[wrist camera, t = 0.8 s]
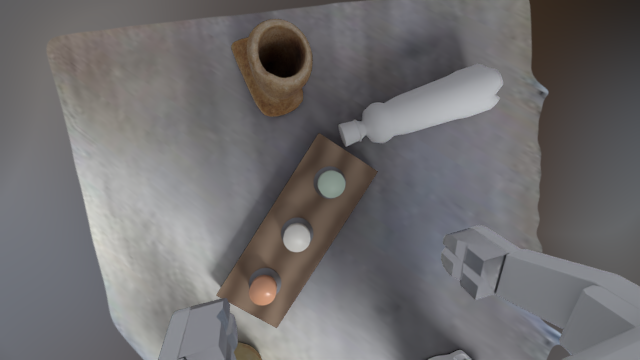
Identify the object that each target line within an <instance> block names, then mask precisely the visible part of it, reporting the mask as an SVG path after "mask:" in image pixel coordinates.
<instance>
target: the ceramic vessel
mask: <svg viewBox="0 0 640 360" xmlns="http://www.w3.org/2000/svg"><path fill="white" fill-rule="evenodd" d="M234 354H235V357H236V359H237V360H262V358H261V356H260V355H259V353H258V352H257V351H256V350H255V349H254V348H253V347H251V346H249V345H247V344H244V343H240V342H238V346H237V347H236V349H235V351H234Z"/></svg>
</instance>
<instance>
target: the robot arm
mask: <svg viewBox="0 0 640 360" xmlns="http://www.w3.org/2000/svg"><path fill="white" fill-rule="evenodd" d="M443 244H444V246H445V248H444V250H443V251H442V254H441V261H442V264H443V267H444V268H445V270H446V271H447V272H448V273H449V274H450V275H451V276H452V277H454V278H456V279H459V280H460V285H461V286H462V287H463V288H464V289H465V290H466V291H467V292H468V293H469V294H470V295H471V296H472V297H473V298H474V299H475V300H477V299H480V298H483V297H486V296H490V295H493V294H496V295H497V296H499V297H501V298H503V299H505V300H507V301H509V302H511V303H513V304H515V305H517V306H519V307H520V308H522V309H524V310H526V311H528V312H530V313H532V314H534V315H536V316H538V317H540V318H542V319H544V320H546V321H548V322H550V323H552V324H554V325H556V326H558V327H560V328H562V329H564V331H563V333H562V335H561V337H560V339H559V340H560V345H562V346H563V347H564V348H565V349H566V350H567V351H568V352H570V353H571V354H572V355H571V356H569V357H567V358H564V359H562V360H640V287H639V286H638V285H636V284H633V283H632V282H630V281H629V280H627V279H624V278H623V277H621V276H619V275H617V274H613V273H610V272H606V271H603V270H599V269H596V268H592V267H589V266H585V265H582V264H578V263H574V262H571V261H567V260H564V259H560V258H556V257H553V256H550V255H546V254H542V253H539V252H535V251H532V250H528V249H523V250H522V249H520V248H518V247H517V246H515V245H514V244H512V243H511V242H509V241H508V240H506V239H504V238H503V237H501V236H500V235H498V234H497V233H495V232H493V231H492V230H490V229H489V228H487V227H486V226H483V225H477V226H474V227H471V228H468V229H464V230H460V231H457V232H454V233H450V234H447V235H445V237H444V238H443ZM229 312H230V304H229V302H228V299H227V298H222V299H218V300H214V301H211V302H207V303H203V304H199V305H195V306H193V307H189V308H185V309H181V310H177V311H175V312H174V314H173V315H172V317H171V320H170V323H169V327H168V330H167V333H166V336H165V339H164V342H163V345H162V349H161V352H160V355H159V358H158V360H237V359H236V357H235V354H234V351H235V349H236V347H237V346H238V334H237V325H236V321H235V317H234V315H233V314H231V313H229ZM428 360H472V359H471V358H470V357H469V356H468V355H467V354H466V353H465V352H464V351H462V350H457V351H455V352H453V353H451V354H448V355H440V356H435V357H432V358H430V359H428Z"/></svg>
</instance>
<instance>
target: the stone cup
mask: <svg viewBox="0 0 640 360" xmlns="http://www.w3.org/2000/svg"><path fill="white" fill-rule="evenodd" d="M231 49H232V51H233V54H234V56H235V59H236V62H237V64H238V67H239V69H240V71H241V73H242V75H243V77H244V80H245V82H246V84H247V87H248V89H249V91H250V93H251V95H252V97H253V99H254V101H255V103H256V105H257V106H258V108H259V109H260V110H261V112H262V113H263V114H264V115H266V116H270V117H274V116H281V115H285V114H287V113H289V112H291V111H293V110H295V109H296V108H297V107H298V106H299V104H300V103H301V102H302V101H303V91H302V87H303V86H304V85H305V84H306V82H307V81H308V79H309V77H310V74H311V71H312V61H313V60H312V51H311V48H310V45H309V42H308V40H307V39H306V37H305V35H304V34H303V33H302V32H301V31H300V30H299V29H298V28H297V27H296V26H295V25H293V24H292V23H290V22H288V21H285V20H281V19H270V20H266V21H264V22H262V23H260V24H258V25H257V26H256V27H255V28H254V29H253V31H252V32H251V33H250V35H249V37H247V38H244V39H240V40H238V41H235V42H234V43H233V44H232V46H231Z"/></svg>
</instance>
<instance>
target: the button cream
mask: <svg viewBox="0 0 640 360" xmlns="http://www.w3.org/2000/svg"><path fill="white" fill-rule="evenodd" d="M283 242H284V245H285V246H286V248H287V249H288V250H290V251H292V252H301V251H303V250H305V249H306V248H307V247H308V246H309V244H310V232H309V230H308V228H307V227H306V226H305V225H303V224H301V223H294V224H291V225H290V226H288V227H287V228H286V230H285V233H284V237H283Z"/></svg>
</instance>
